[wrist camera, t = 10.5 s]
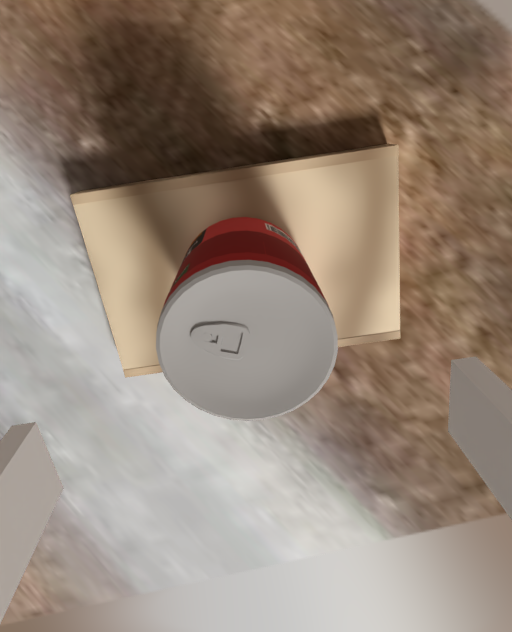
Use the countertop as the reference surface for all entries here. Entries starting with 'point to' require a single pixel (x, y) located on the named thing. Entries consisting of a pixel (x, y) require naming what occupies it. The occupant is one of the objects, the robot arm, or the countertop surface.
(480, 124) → the countertop surface
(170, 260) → the cutting board
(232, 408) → the canned food
